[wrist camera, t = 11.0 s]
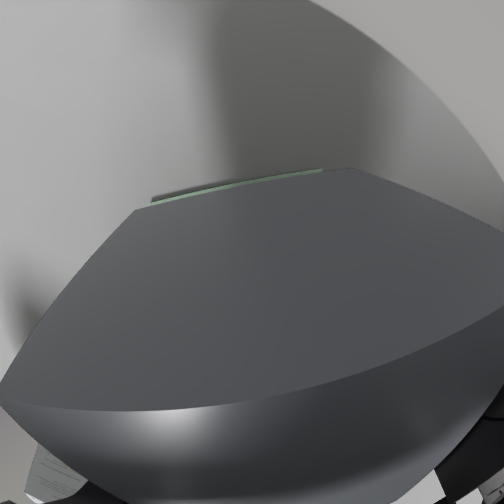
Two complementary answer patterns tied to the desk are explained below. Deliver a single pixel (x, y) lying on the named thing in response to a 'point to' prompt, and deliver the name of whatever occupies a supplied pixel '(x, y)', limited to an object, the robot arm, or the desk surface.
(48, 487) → the small box
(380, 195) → the large grey box
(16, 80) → the desk surface
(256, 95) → the desk surface
